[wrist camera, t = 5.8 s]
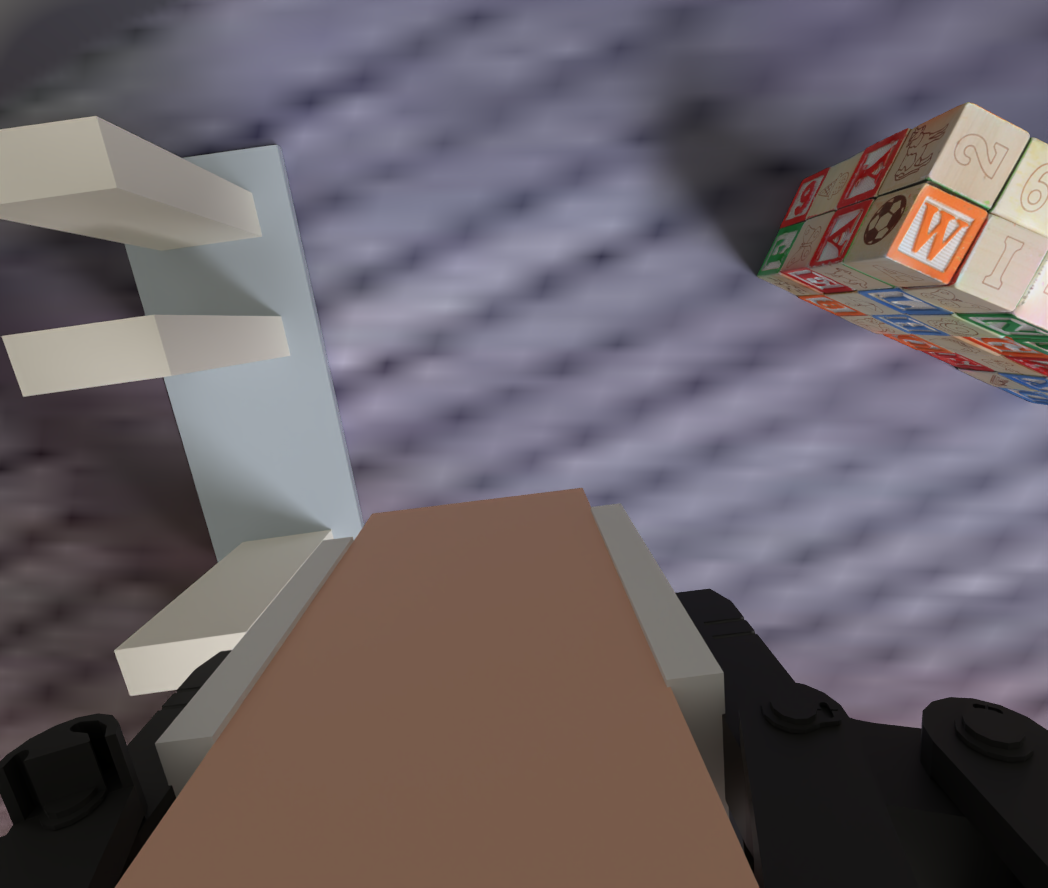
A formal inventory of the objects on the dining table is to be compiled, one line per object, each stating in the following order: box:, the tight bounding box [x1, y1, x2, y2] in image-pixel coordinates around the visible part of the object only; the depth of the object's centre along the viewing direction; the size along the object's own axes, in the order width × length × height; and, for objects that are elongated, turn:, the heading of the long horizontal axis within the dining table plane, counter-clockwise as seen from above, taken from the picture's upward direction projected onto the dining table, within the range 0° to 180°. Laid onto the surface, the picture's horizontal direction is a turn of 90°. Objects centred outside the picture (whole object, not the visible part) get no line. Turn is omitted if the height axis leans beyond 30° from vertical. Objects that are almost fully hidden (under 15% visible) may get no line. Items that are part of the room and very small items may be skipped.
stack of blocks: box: [757, 102, 1048, 405], centre depth 28 cm, size 21×6×12 cm, turn 68°
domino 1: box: [2, 315, 290, 397], centre depth 27 cm, size 2×6×12 cm, turn 98°
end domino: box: [0, 116, 262, 251], centre depth 25 cm, size 2×6×12 cm, turn 98°
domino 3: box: [115, 488, 759, 888], centre depth 10 cm, size 2×6×12 cm, turn 97°
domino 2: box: [114, 530, 334, 696], centre depth 30 cm, size 2×6×12 cm, turn 98°
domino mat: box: [125, 145, 364, 562], centre depth 35 cm, size 35×10×1 cm, turn 8°
